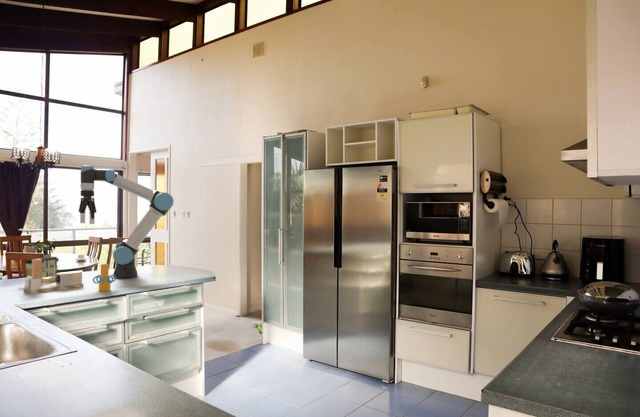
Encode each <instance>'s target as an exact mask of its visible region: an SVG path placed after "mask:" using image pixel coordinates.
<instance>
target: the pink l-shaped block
mask: <svg viewBox="0 0 640 417" xmlns="http://www.w3.org/2000/svg"><path fill="white" fill-rule="evenodd" d="M31 259H32V277H33V279H37V278H41V285H44V284H45V285H46V284H52V283H56V282H60V276H57V277H48V278H42V259H38V258H31Z"/></svg>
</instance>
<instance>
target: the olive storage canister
mask: <svg viewBox="0 0 640 417" xmlns="http://www.w3.org/2000/svg"><path fill="white" fill-rule="evenodd" d="M32 259H33V258H28V259H26V260H25V262H24V264H25V266H26V267H25V269H26V271H25V272H26V277H27V276H30V277H32ZM43 263H44V261H43V259H42V271H43Z"/></svg>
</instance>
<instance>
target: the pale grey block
mask: <svg viewBox="0 0 640 417" xmlns="http://www.w3.org/2000/svg"><path fill="white" fill-rule="evenodd" d="M57 276H60V282H55V285H57V286H60V287H62V286H70V285H77V284H83V272H82V271H79V270H74V271H64V272H57V273H56V277H57Z"/></svg>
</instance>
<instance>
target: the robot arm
mask: <svg viewBox="0 0 640 417" xmlns="http://www.w3.org/2000/svg"><path fill="white" fill-rule="evenodd" d="M95 181H96V182H106V183H108V184H110V185H113V186H115V187H117V188H120V189H122V190H124V191H126V192H128V193H131V194H133V195H135V196H137V197H139V198H141V199H144V200H146V201H148V202H149V205H148V206H149V210H148V211H147V212H146V213H145V215H144V216H143V218H142V219H141V220H139V223H138V224H137V225H136V226H135V228H134V229H132V230H133V231H132V232H131V233H130V234H129V236H128V237H127V238H126V239H123V240H122V241H121V242H117V243H116V244H115V245H116V246H115V250H114V251H113V252H112V259H113V261H115V267H114V271H113V272H112V273H113V274H112V275H115V276H116V279H133V278H137V277H138V276H139V274H138V270H137V267H136V263H135V262H136V254H138V252H139V250H140V248H139V246H140V245H141V244H142V243H143V241H144V240H145V238H146V237H147V236H148V235H149V233H151V231H152V229H153V228H154V227H155V225H156V224H157V223H158V221H159V220H160V219H161V218H162V217H165V216H166V215H167V213H168V212H169V211H170V209H172V207H173V206H174V198H173V196H172V195H171V194H170V193H168V192H166V191H165V192H161V191H159V190H153V189H151V188H148V187H146V186H144V185H143V184H140V183H138V182H135V181H133V180H132V179H129V178H127V177H124V176H122V175H120V174H117V173H116V172H115V169H111V168H108V169H107V168H106V169H105V168H102V169H101V168H95V166H94V165H90V164H88V165H87V164H86V165H85V164H84V165H81V166H80V184H79V187H80V196H81V198H80V203H79V207H78V212H79V213H80V214H79V219H80V220H79V221H80V222H79V223H80V224H86V210H87V207H88V210H89V225H95V224H96V223H95V215H96V213H97V208H96V207H97V206H96V204H95V197H94V196H95V191H94V190H95ZM112 277H113V279H115V277H114V276H112Z"/></svg>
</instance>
